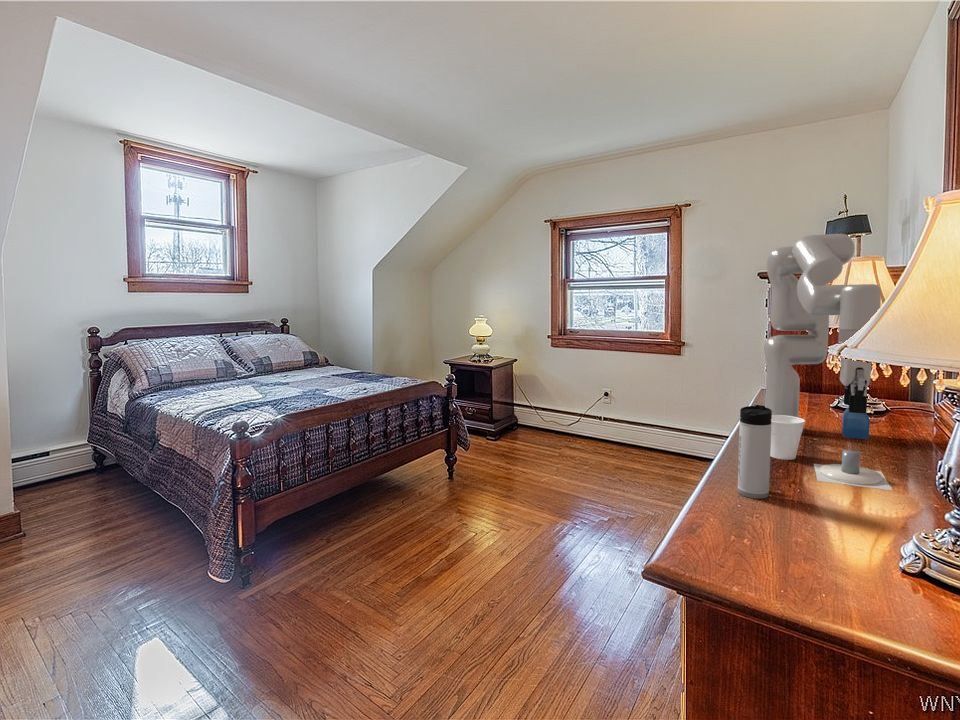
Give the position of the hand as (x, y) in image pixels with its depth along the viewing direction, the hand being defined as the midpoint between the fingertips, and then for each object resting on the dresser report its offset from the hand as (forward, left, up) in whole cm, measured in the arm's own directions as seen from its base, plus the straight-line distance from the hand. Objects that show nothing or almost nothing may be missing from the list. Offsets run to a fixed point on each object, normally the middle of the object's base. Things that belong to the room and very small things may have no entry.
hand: (854, 408), depth 119 cm
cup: (-11, -14, -17) cm, 25 cm away
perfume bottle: (-45, +6, -18) cm, 49 cm away
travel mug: (+21, -20, -17) cm, 34 cm away
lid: (0, 0, -17) cm, 17 cm away
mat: (0, 0, -17) cm, 17 cm away
